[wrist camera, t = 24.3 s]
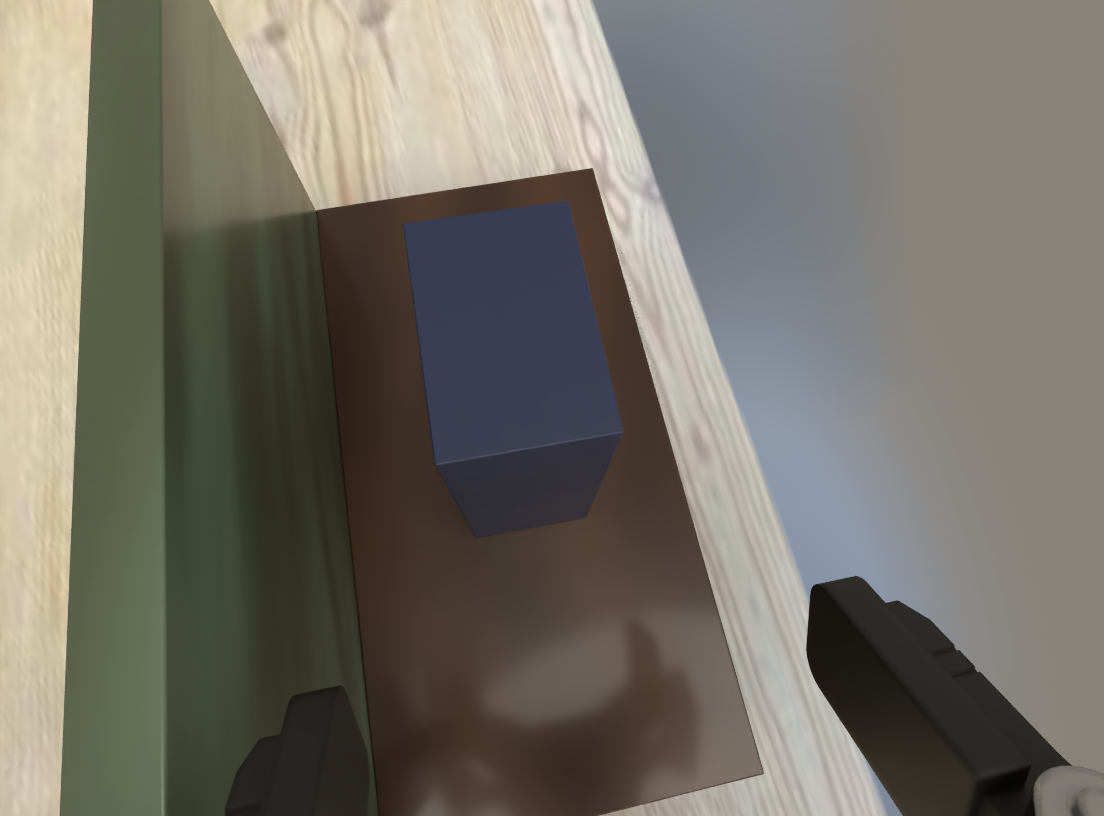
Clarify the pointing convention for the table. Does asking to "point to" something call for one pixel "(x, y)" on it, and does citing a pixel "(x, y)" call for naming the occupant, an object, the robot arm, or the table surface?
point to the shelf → (342, 493)
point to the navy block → (512, 365)
